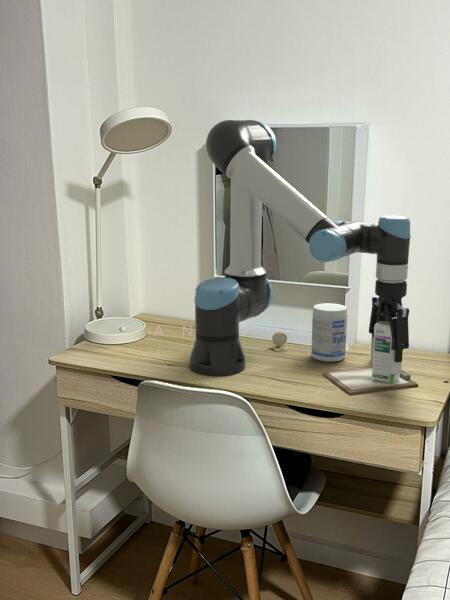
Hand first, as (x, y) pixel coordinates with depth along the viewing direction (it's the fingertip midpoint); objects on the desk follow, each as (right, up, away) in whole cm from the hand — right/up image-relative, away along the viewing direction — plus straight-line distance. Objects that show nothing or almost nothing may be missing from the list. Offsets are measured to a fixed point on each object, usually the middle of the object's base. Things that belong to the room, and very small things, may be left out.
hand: (386, 367), depth 177 cm
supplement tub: (-12, +1, +21) cm, 24 cm away
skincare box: (+2, 0, +17) cm, 17 cm away
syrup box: (0, -3, +1) cm, 3 cm away
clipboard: (-4, -3, +3) cm, 6 cm away
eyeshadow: (-24, +3, +28) cm, 37 cm away
